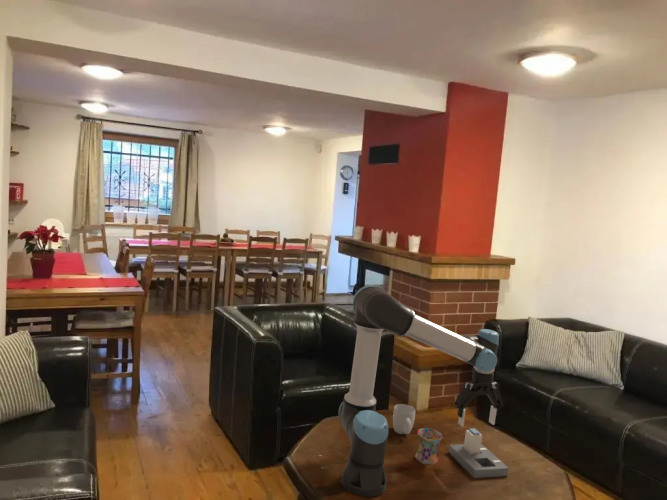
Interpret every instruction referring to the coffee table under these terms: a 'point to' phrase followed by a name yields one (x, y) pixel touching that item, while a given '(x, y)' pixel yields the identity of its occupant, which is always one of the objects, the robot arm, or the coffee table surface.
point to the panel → (479, 462)
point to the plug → (472, 441)
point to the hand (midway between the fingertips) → (476, 424)
